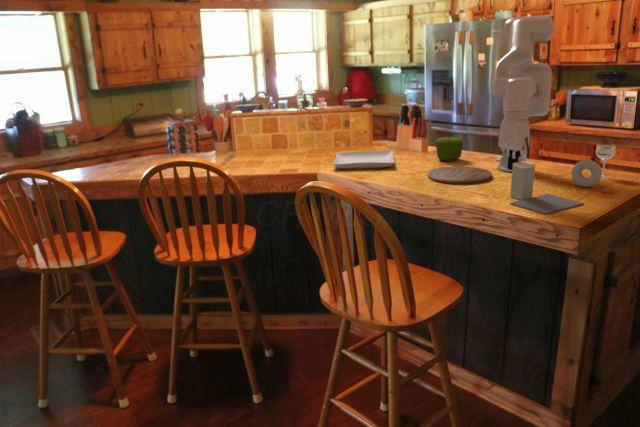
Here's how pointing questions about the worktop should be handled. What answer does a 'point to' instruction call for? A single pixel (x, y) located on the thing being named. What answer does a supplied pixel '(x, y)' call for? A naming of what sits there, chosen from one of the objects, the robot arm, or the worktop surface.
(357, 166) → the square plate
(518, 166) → the sage block
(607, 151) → the wineglass
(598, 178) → the donut
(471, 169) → the trivet
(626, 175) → the worktop surface
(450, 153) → the green bell pepper
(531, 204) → the charcoal mat
